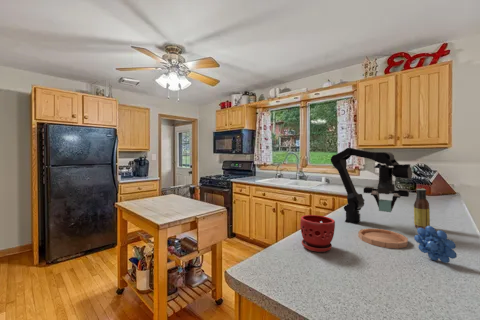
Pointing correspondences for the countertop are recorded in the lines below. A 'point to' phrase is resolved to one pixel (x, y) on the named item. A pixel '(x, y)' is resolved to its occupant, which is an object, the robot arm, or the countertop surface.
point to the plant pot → (317, 232)
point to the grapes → (435, 244)
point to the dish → (383, 238)
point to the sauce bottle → (421, 210)
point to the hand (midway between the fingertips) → (385, 208)
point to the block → (385, 205)
